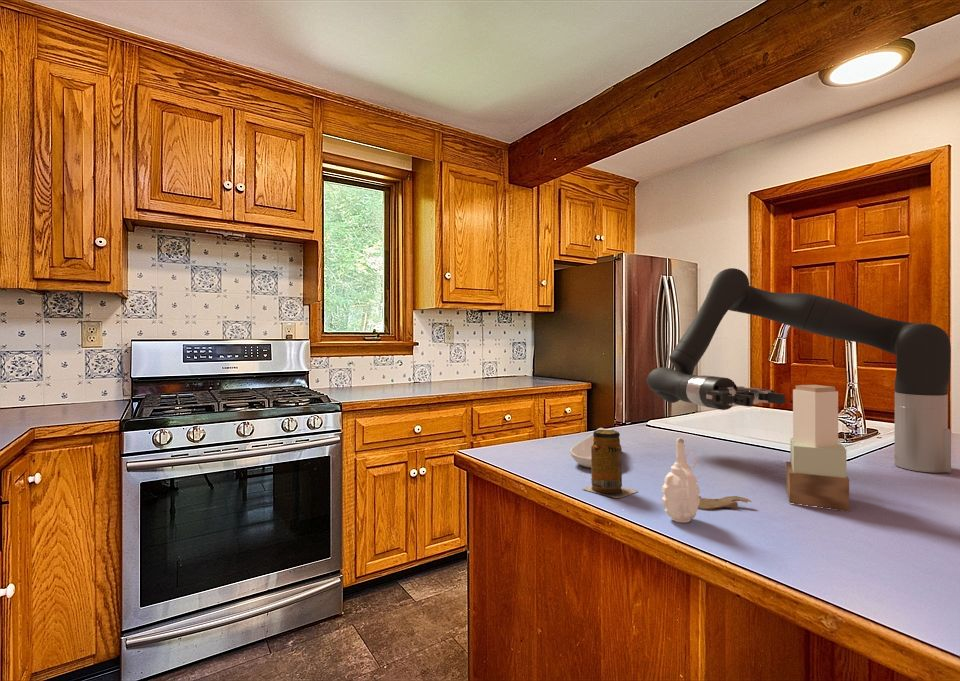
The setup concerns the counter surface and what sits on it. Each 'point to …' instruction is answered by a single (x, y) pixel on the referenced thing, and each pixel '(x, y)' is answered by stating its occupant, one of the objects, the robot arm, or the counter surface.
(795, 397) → the tea tin
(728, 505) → the jawbone
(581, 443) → the spoon rest
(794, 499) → the bottom block
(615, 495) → the condiment
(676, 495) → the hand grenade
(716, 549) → the counter surface
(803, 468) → the middle block
